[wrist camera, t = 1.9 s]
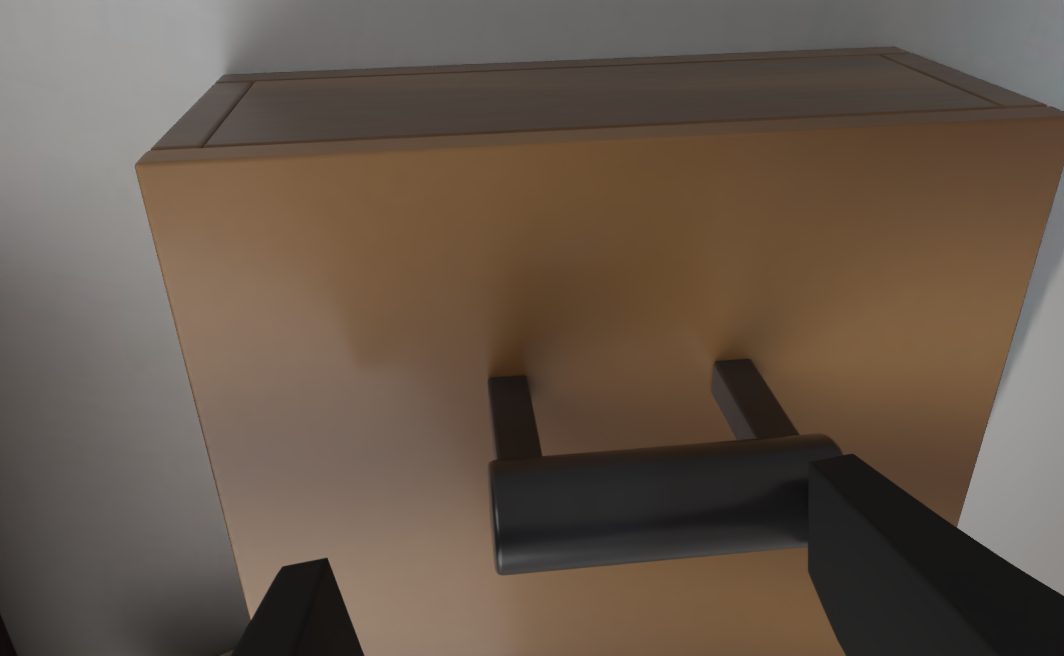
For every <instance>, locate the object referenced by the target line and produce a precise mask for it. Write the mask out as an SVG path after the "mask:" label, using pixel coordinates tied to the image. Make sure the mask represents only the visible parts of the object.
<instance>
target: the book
mask: <svg viewBox="0 0 1064 656" xmlns="http://www.w3.org/2000/svg"><path fill="white" fill-rule="evenodd" d="M0 656H17V655H16V653H15V651H14V648H13V646H12V643H11V641H10V638H9V636H8V634H7V631H6V629H5V626H4V624H3V621H2V619H1V617H0Z"/></svg>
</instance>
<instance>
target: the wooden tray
mask: <svg viewBox="0 0 1064 656" xmlns="http://www.w3.org/2000/svg"><path fill="white" fill-rule="evenodd" d="M1030 107H1047V105H1046V104H1043V103H1041V102H1038V101H1036V100H1033V99H1030V98H1028V97H1025V96H1023V95H1020V94H1017V93H1015V92H1012V91H1010V90H1007V89H1004V88H1002V87H999V86H997V85H994V84H991V83H989V82H986V81H984V80H981V79H978V78H976V77H973V76H971V75H968V74H965V73H963V72H960V71H958V70H955V69H952V68H950V67H947V66H945V65H942V64H939V63H937V62H934V61H932V60H929V59H926V58H924V57H921V56H919V55H916V54H913V53H912V54H911V53H910V52H907V51H904V50H902V49H899V48H897V47H876V48H852V49H828V50H804V51H780V52H756V53H732V54H709V55H685V56H661V57H637V58H613V59H589V60H565V61H542V62H518V63H494V64H470V65H446V66H422V67H398V68H375V69H351V70H327V71H303V72H279V73H255V74H231V75H223V76H222V77H221V78H220V79H219V80H218V81H217V82H216V83H215V84H214V85H213V86H212V87H211V88H210V89H209V90H208V91H207V92H206V93H205V94H204V95H203V96H202V97H201V98H200V99H199V100H198V101H197V102H196V103H195V104H194V105H193V106H192V107H191V108H190V109H189V110H188V111H187V112H186V113H185V114H184V115H183V116H182V117H181V118H180V119H179V120H178V122H177V123H176V124H175V125H174V126H173V127H172V128H171V129H170V130H169V131H168V132H167V133H166V134H165V135H164V136H163V137H162V138H161V139H160V140H159V141H158V142H157V143H156V144H155V145H154V146H153V147H152V148H151V151H153V150H173V149H194V148H214V147H235V146H255V145H275V144H296V143H316V142H337V141H357V140H377V139H398V138H418V137H439V136H459V135H479V134H500V133H520V132H541V131H561V130H581V129H602V128H622V127H642V126H663V125H683V124H704V123H724V122H744V121H765V120H785V119H806V118H826V117H846V116H867V115H887V114H908V113H928V112H948V111H969V110H989V109H1009V108H1030Z"/></svg>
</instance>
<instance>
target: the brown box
mask: <svg viewBox="0 0 1064 656" xmlns="http://www.w3.org/2000/svg"><path fill="white" fill-rule="evenodd" d="M1063 167H1064V111H1061V110H1059V109H1056V108H1054V107H1051V106H1050V107H1030V108H1009V109H989V110H969V111H948V112H928V113H908V114H887V115H867V116H846V117H826V118H806V119H785V120H765V121H744V122H724V123H704V124H683V125H663V126H642V127H622V128H602V129H581V130H561V131H541V132H520V133H500V134H479V135H459V136H439V137H418V138H398V139H377V140H357V141H337V142H316V143H296V144H275V145H255V146H235V147H214V148H194V149H173V150H153V151H148V152H146V153H145V154H144V155H143V156H142V157H141V158H140V159H139V160H138V162H137V163H136V164H135V170H136V174H137V178H138V182H139V185H140V189H141V193H142V197H143V201H144V205H145V209H146V213H147V217H148V221H149V225H150V229H151V233H152V236H153V240H154V244H155V248H156V252H157V256H158V260H159V264H160V268H161V272H162V276H163V280H164V284H165V287H166V291H167V295H168V299H169V303H170V307H171V311H172V315H173V319H174V323H175V327H176V331H177V335H178V338H179V342H180V346H181V350H182V354H183V358H184V362H185V366H186V370H187V374H188V378H189V382H190V386H191V389H192V393H193V397H194V401H195V405H196V409H197V413H198V417H199V421H200V425H201V429H202V433H203V437H204V440H205V444H206V448H207V452H208V456H209V460H210V464H211V468H212V472H213V476H214V480H215V484H216V488H217V491H218V495H219V499H220V503H221V507H222V511H223V515H224V519H225V523H226V527H227V531H228V535H229V539H230V543H231V546H232V550H233V554H234V558H235V562H236V566H237V570H238V574H239V578H240V582H241V586H242V590H243V594H244V597H245V601H246V605H247V609H248V613H249V617H250V621H251V619H252V617H253V616H254V614H255V612H256V610H257V608H258V607H259V605H260V603H261V601H262V600H263V598H264V596H265V594H266V592H267V591H268V589H269V587H270V585H271V584H272V582H273V580H274V578H275V576H276V575H277V573H278V572H279V571H280V569H281V568H282V567H283V566H287V565H292V564H297V563H302V562H307V561H312V560H317V559H322V558H328V560H329V563H330V566H331V568H332V571H333V574H334V576H335V579H336V582H337V584H338V587H339V589H340V592H341V595H342V597H343V600H344V603H345V605H346V608H347V611H348V613H349V616H350V619H351V621H352V624H353V627H354V629H355V632H356V635H357V637H358V640H359V643H360V645H361V648H362V651H363V653H364V656H846V655H845V653H844V651H843V649H842V648H841V646H840V644H839V642H838V640H837V638H836V636H835V634H834V632H833V629H832V627H831V625H830V622H829V620H828V618H827V616H826V613H825V611H824V609H823V607H822V604H821V602H820V599H819V597H818V595H817V592H816V590H815V587H814V585H813V583H812V580H811V578H810V575H809V573H808V538H809V517H808V478H809V462H812V461H817V460H822V459H827V458H832V457H837V456H842V455H847V454H852V453H853V454H854V455H856V456H857V457H858V458H860V459H861V460H863V461H864V462H865V463H867V464H868V465H870V466H871V467H872V468H874V469H875V470H877V471H878V472H879V473H881V474H882V475H884V476H885V477H886V478H888V479H889V480H891V481H892V482H893V483H895V484H896V485H897V486H899V487H900V488H902V489H903V490H904V491H906V492H907V493H909V494H910V495H911V496H913V497H914V498H915V499H917V500H918V501H920V502H921V503H923V504H924V505H925V506H927V507H928V508H930V509H931V510H932V511H934V512H935V513H937V514H938V515H939V516H941V517H942V518H944V519H945V520H947V521H948V522H949V523H951V524H952V525H954V526H955V527H957V525H958V521H959V518H960V514H961V511H962V508H963V505H964V501H965V498H966V494H967V491H968V488H969V484H970V481H971V477H972V474H973V471H974V467H975V464H976V461H977V457H978V454H979V451H980V447H981V444H982V440H983V437H984V434H985V430H986V427H987V424H988V420H989V417H990V413H991V410H992V407H993V403H994V400H995V396H996V393H997V390H998V386H999V383H1000V380H1001V376H1002V373H1003V369H1004V366H1005V363H1006V359H1007V356H1008V353H1009V349H1010V346H1011V342H1012V339H1013V336H1014V332H1015V329H1016V326H1017V322H1018V319H1019V315H1020V312H1021V309H1022V305H1023V302H1024V299H1025V295H1026V292H1027V288H1028V285H1029V282H1030V278H1031V275H1032V271H1033V268H1034V265H1035V261H1036V258H1037V255H1038V251H1039V248H1040V244H1041V241H1042V238H1043V234H1044V231H1045V228H1046V224H1047V221H1048V217H1049V214H1050V211H1051V207H1052V204H1053V201H1054V197H1055V194H1056V190H1057V187H1058V184H1059V180H1060V177H1061V174H1062V170H1063Z"/></svg>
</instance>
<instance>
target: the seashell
mask: <svg viewBox="0 0 1064 656" xmlns="http://www.w3.org/2000/svg"><path fill="white" fill-rule="evenodd" d="M233 650H234V649H233ZM233 650H230V651H228V652H226V653H224V654H221V655H219V656H230V655H231V654H232V652H233Z"/></svg>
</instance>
